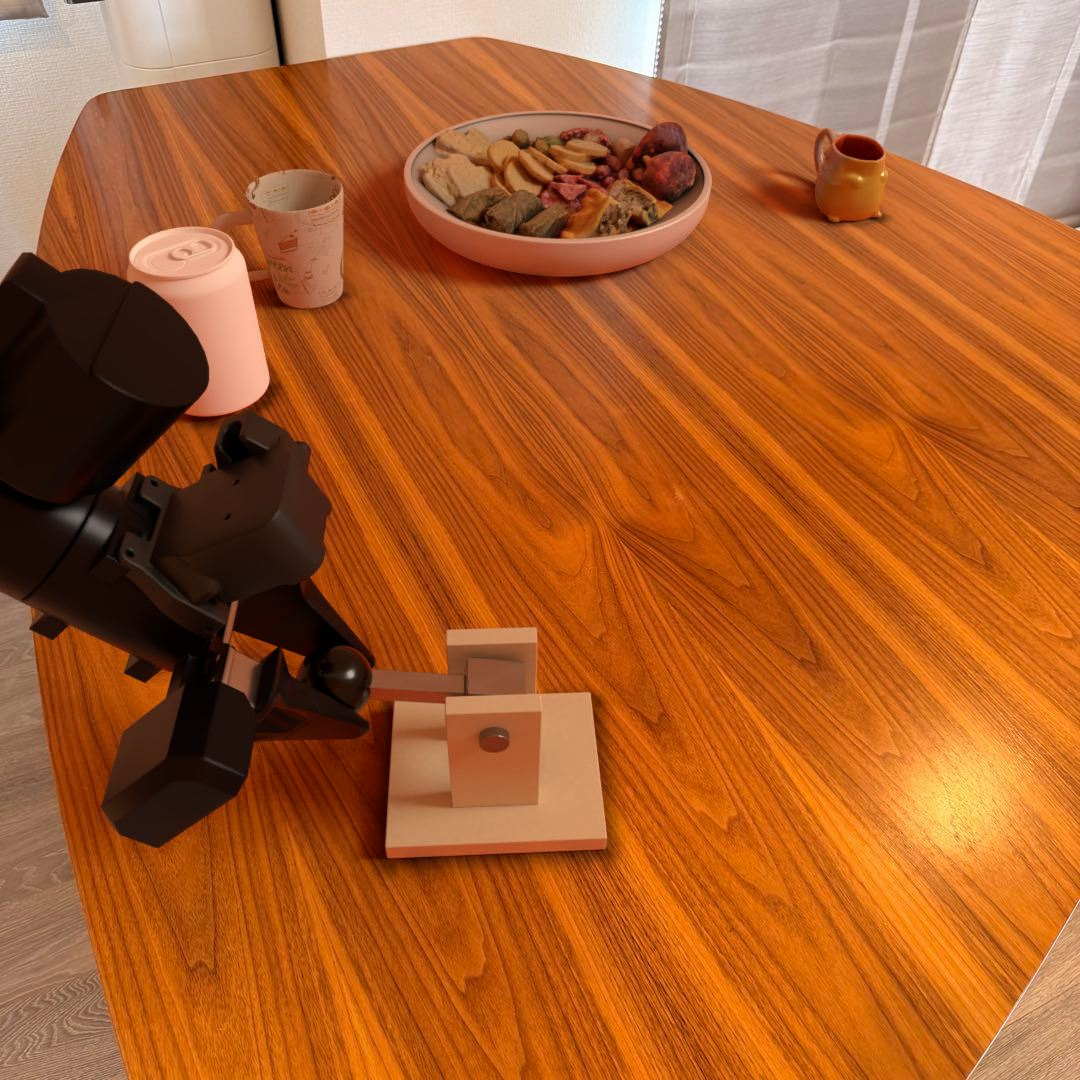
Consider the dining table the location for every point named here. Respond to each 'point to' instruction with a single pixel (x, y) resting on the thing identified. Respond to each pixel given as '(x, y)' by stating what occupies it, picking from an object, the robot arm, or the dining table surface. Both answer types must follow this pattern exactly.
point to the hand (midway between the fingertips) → (367, 698)
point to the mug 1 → (296, 234)
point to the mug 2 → (849, 176)
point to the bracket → (494, 764)
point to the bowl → (558, 191)
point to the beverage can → (209, 309)
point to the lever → (404, 679)
